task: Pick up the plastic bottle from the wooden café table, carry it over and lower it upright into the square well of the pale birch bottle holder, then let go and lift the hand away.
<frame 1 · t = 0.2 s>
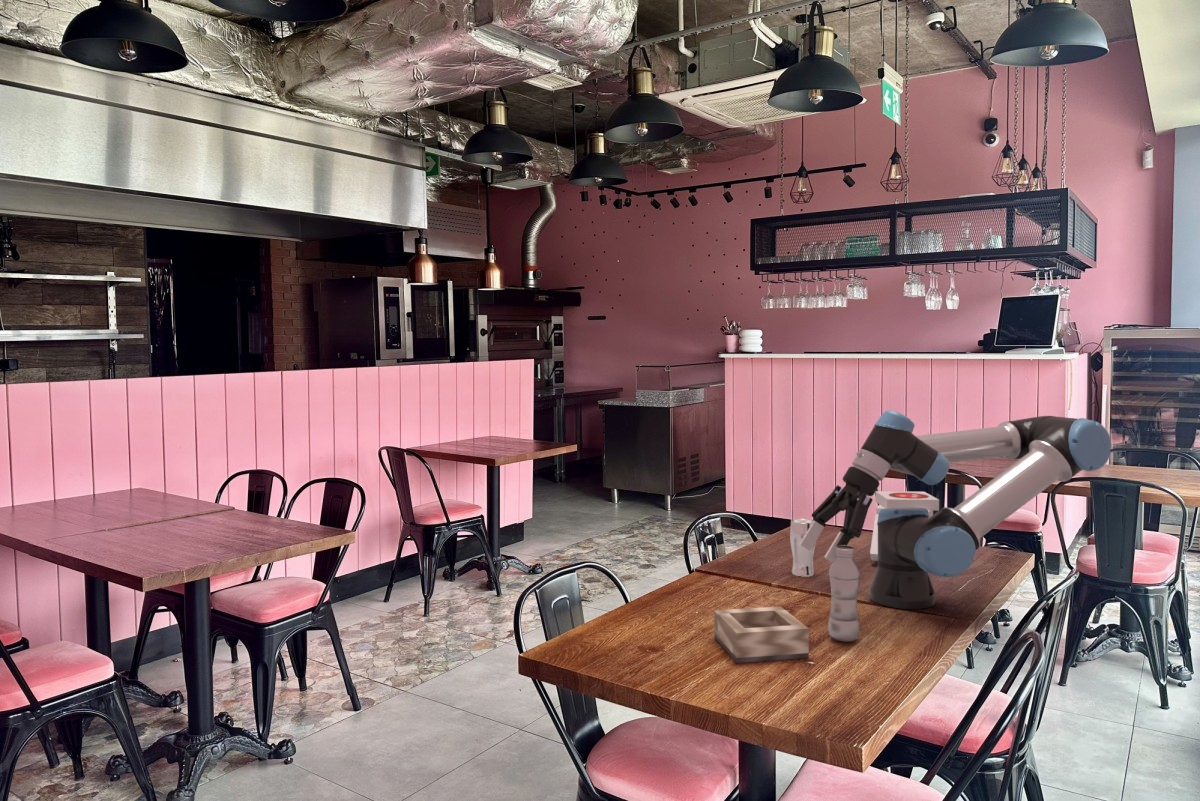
hand: (816, 554, 185), 16 cm above the table, tool tilted 35°, fingers open, 13 cm apart
plastic bottle: (843, 640, 176), on the table
beer glass: (802, 575, 229), on the table
pizza boxes: (903, 558, 247), on the table
bottle holder: (759, 647, 172), on the table
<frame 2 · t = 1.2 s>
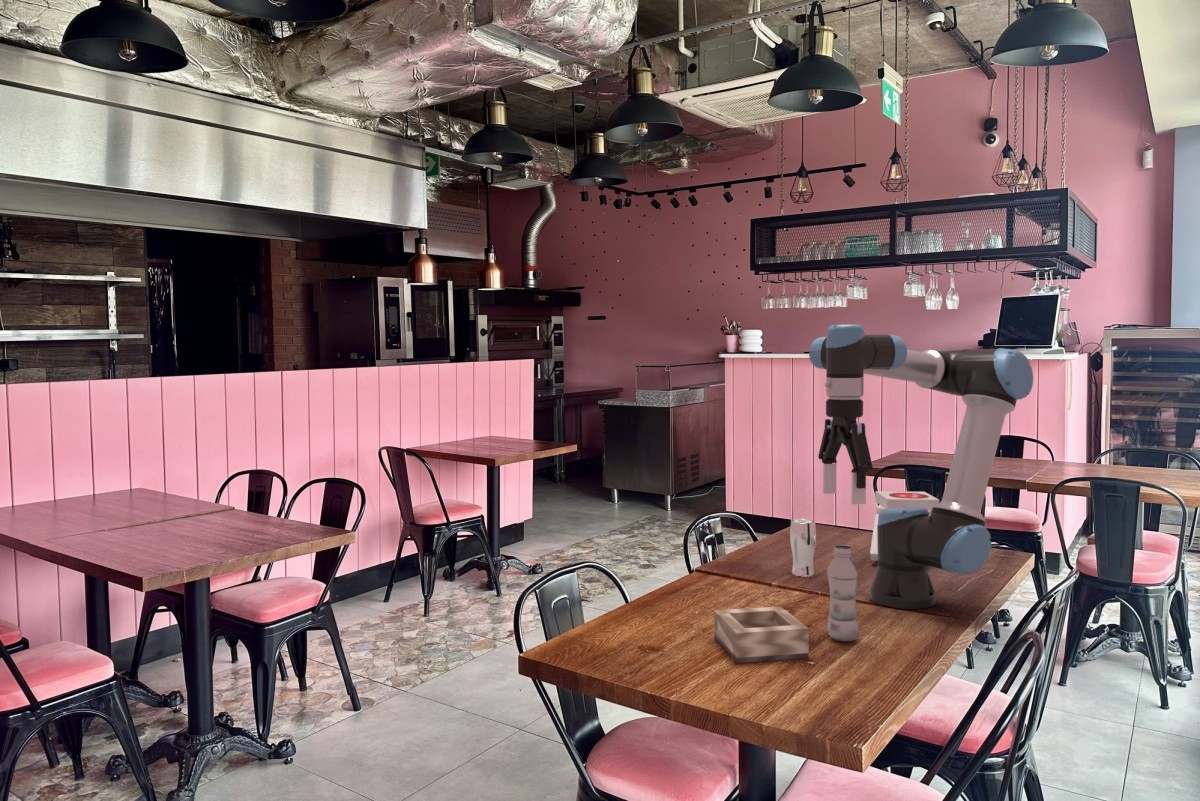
hand: (843, 498, 174), 30 cm above the table, tool pointing down, fingers open, 13 cm apart
nothing on the table moved.
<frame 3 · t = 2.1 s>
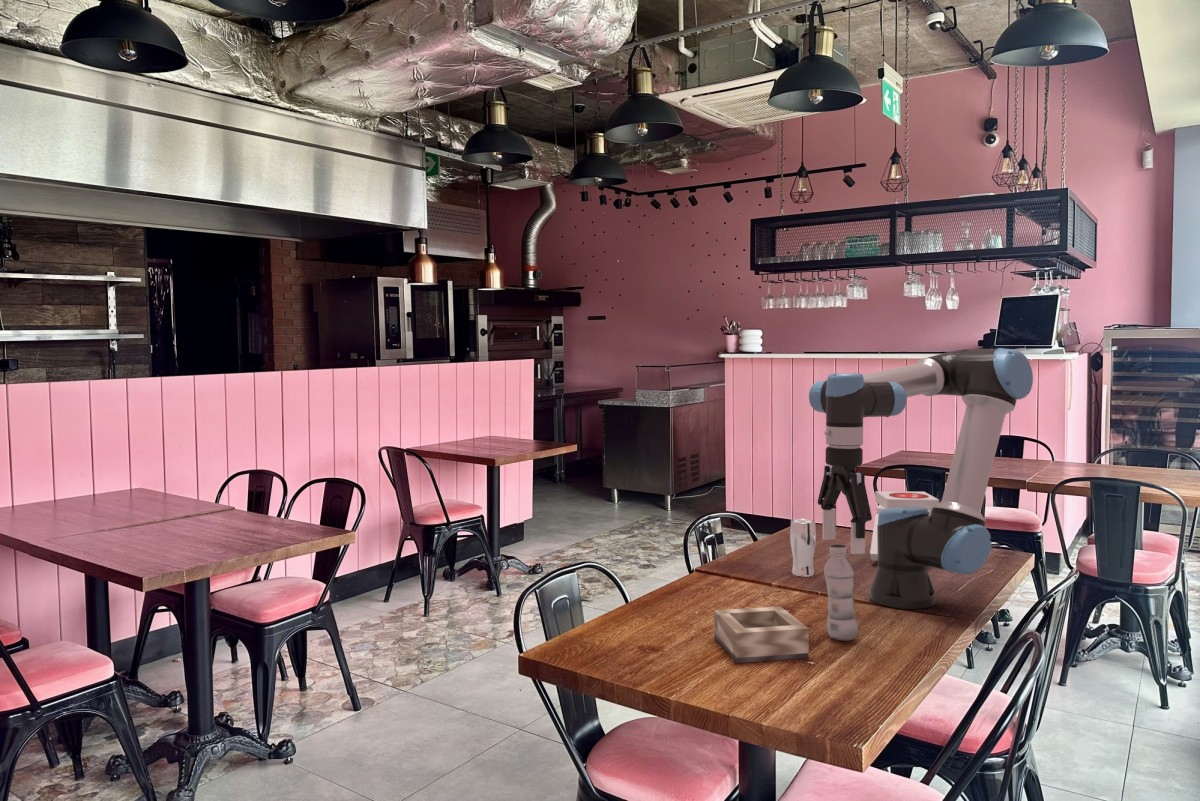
hand: (842, 546, 175), 20 cm above the table, tool pointing down, fingers open, 13 cm apart
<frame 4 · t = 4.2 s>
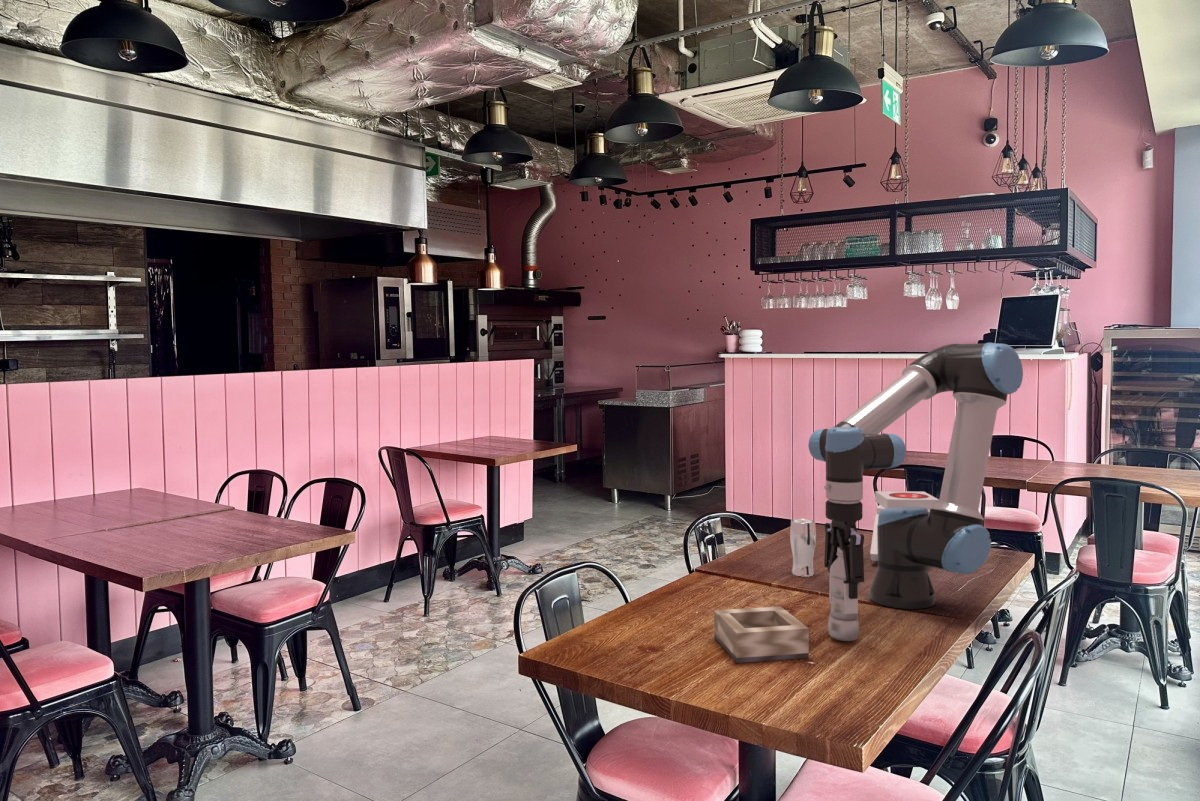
hand: (843, 607, 175), 7 cm above the table, tool pointing down, fingers closed on plastic bottle, 6 cm apart
plastic bottle: (842, 640, 176), on the table, touching gripper
everything else where it was.
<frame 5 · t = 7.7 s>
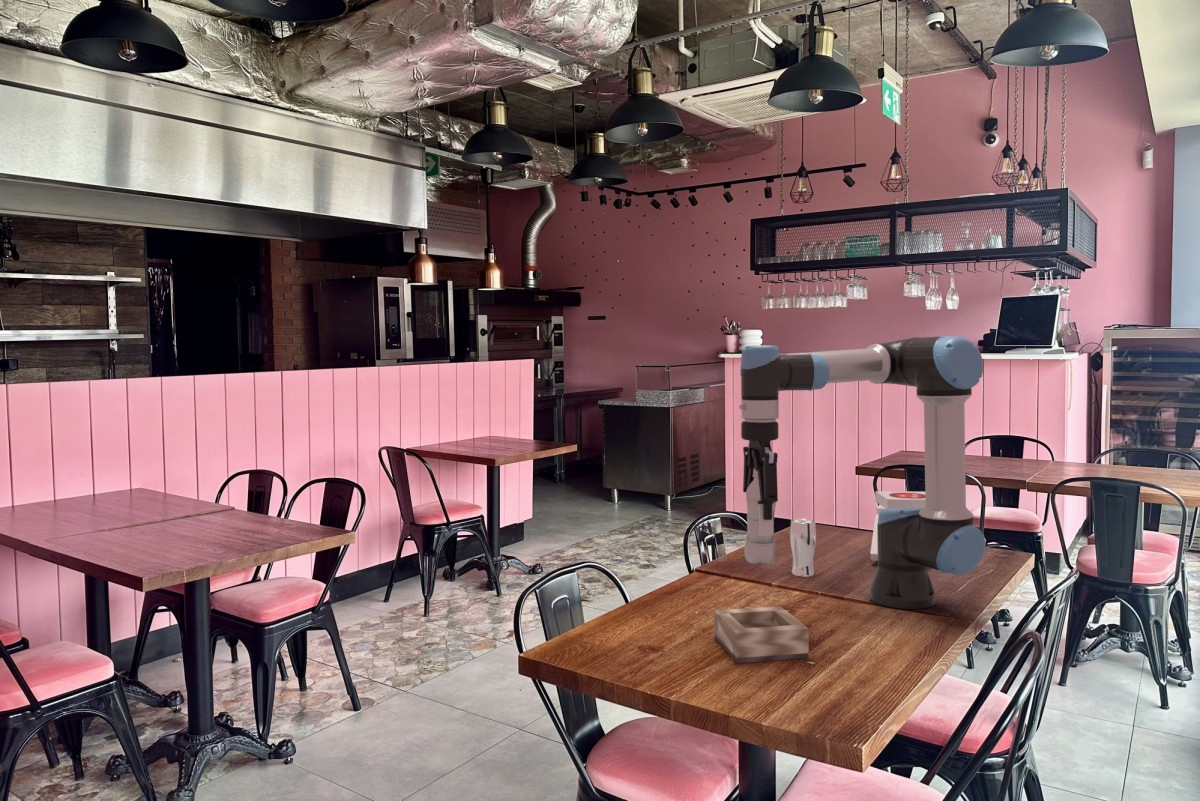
hand: (759, 531, 171), 24 cm above the table, tool pointing down, fingers closed on plastic bottle, 6 cm apart
plastic bottle: (759, 564, 171), point 17 cm above the table, touching gripper
everything else where it was.
when the fingers open (9 cm above the table, at t = 11.1 s): plastic bottle drops 1 cm, resting on bottle holder.
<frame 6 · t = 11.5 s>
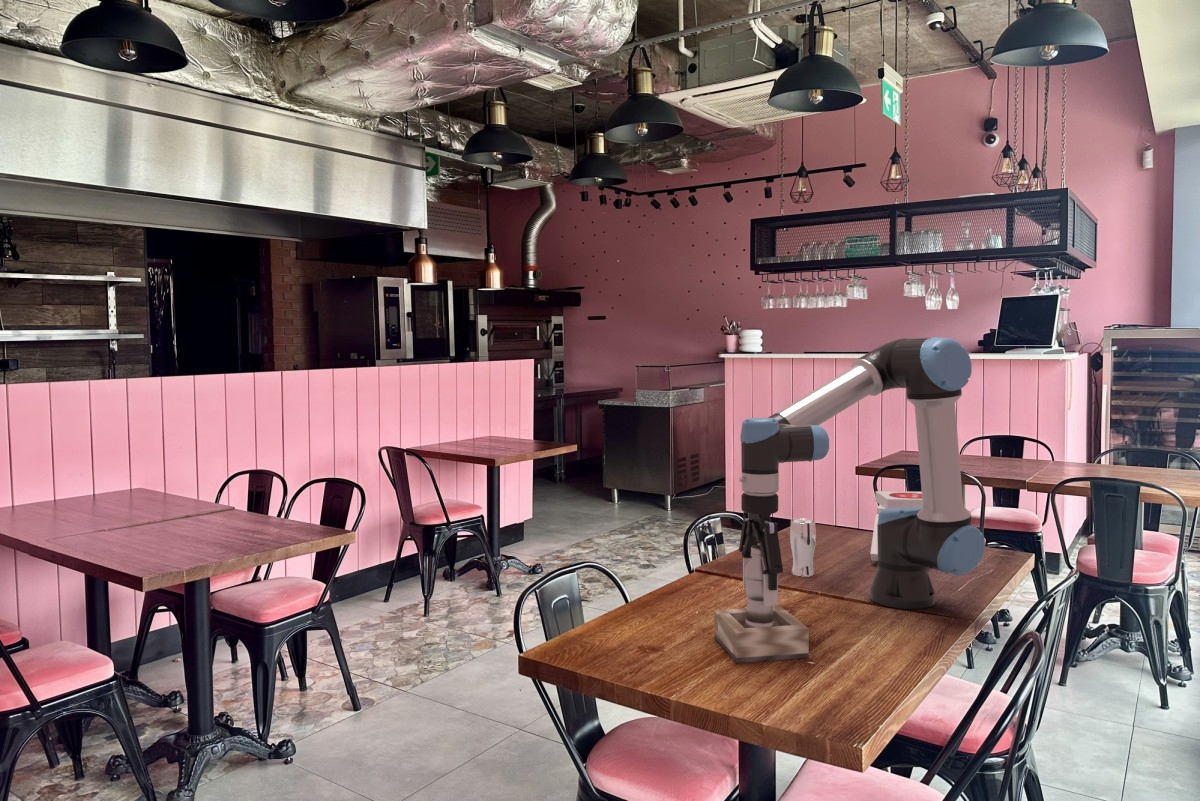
hand: (759, 596, 171), 11 cm above the table, tool pointing down, fingers open, 12 cm apart
plastic bottle: (759, 643, 172), point 1 cm above the table, touching bottle holder
everything else where it was.
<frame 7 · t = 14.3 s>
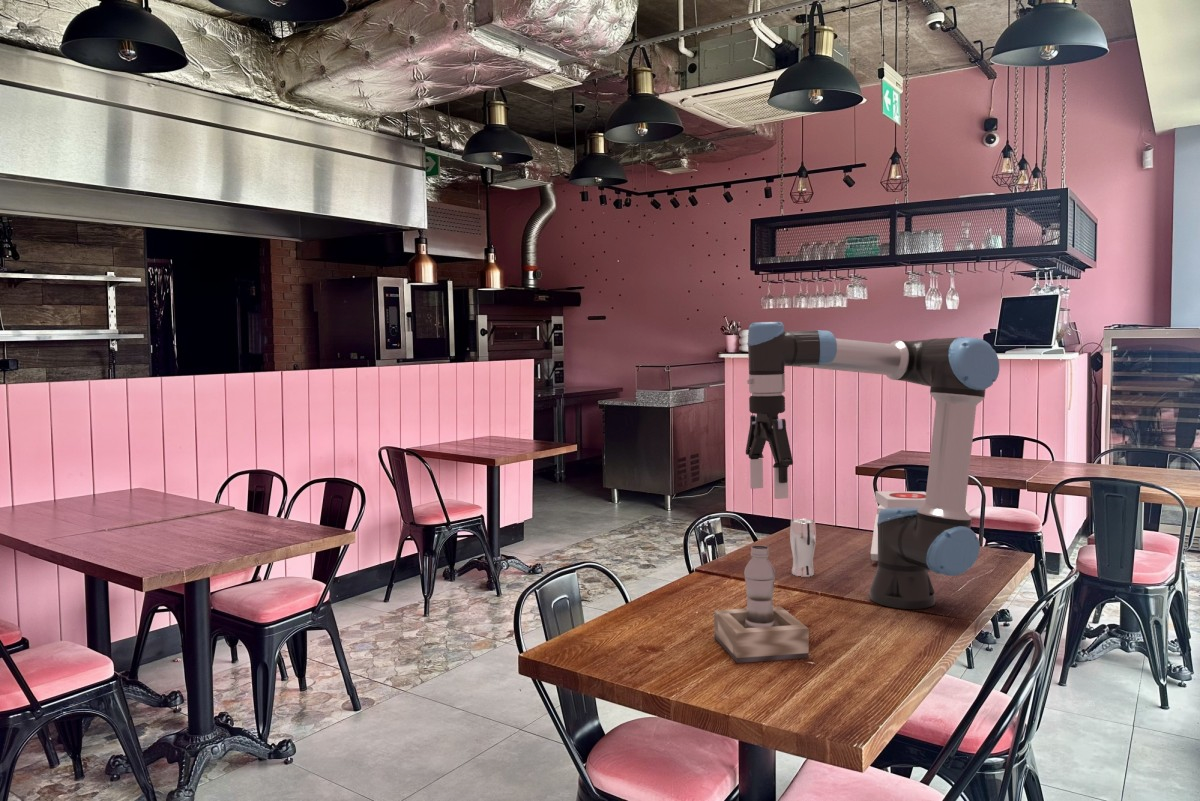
hand: (768, 493, 177), 31 cm above the table, tool pointing down, fingers open, 13 cm apart
nothing on the table moved.
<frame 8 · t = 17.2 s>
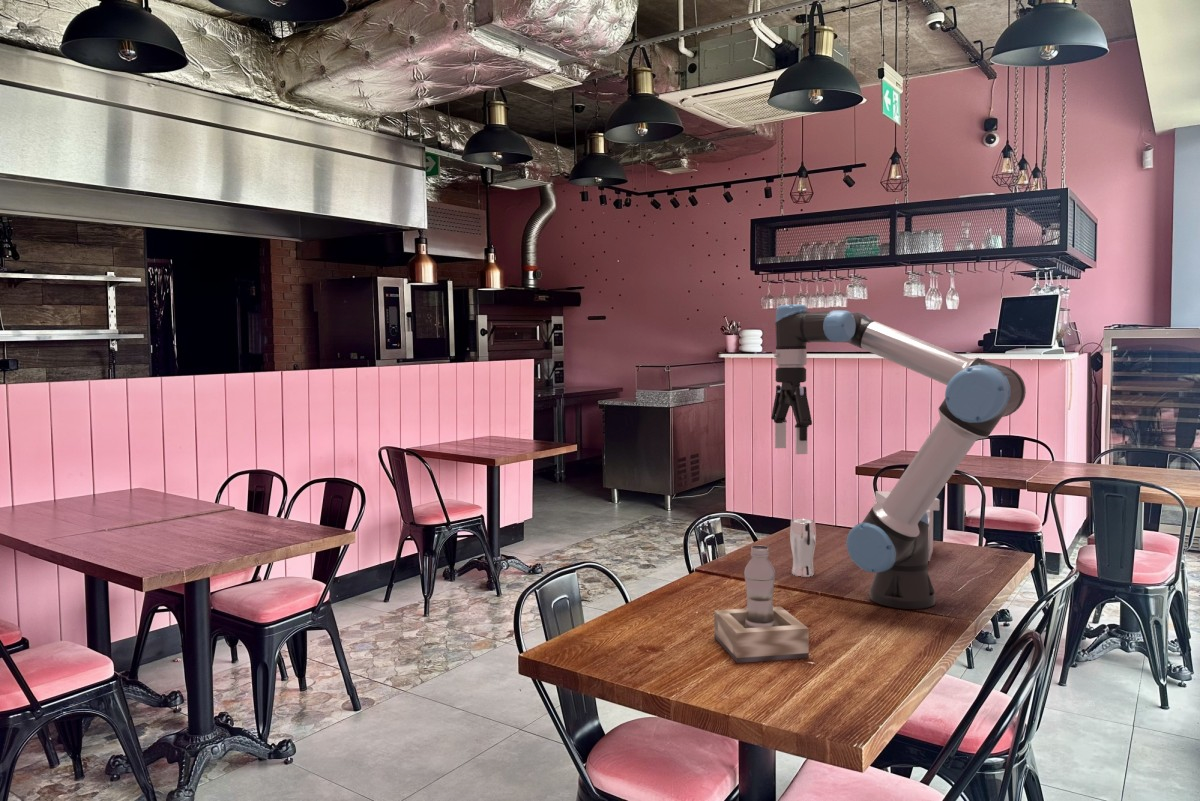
hand: (790, 451, 208), 37 cm above the table, tool pointing down, fingers open, 13 cm apart
nothing on the table moved.
at the end: plastic bottle 0.4 cm off-centre on the bottle holder, point 0.8 cm above the bottle holder's base; plastic bottle tilted 0°; the gripper is holding nothing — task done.
